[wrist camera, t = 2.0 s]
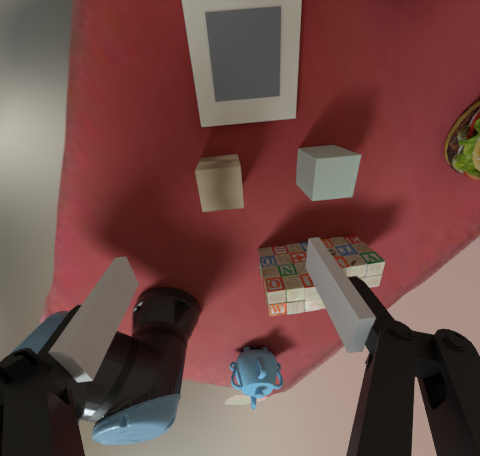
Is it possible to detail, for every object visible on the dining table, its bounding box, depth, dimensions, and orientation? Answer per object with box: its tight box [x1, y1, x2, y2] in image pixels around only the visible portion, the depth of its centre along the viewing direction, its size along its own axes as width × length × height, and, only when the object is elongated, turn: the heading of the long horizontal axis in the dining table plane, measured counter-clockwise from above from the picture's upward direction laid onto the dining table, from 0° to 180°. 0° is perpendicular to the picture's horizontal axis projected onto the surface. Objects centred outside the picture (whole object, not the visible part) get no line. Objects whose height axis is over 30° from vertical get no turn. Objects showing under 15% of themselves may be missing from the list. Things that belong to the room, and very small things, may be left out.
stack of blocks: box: [257, 235, 385, 316], centre depth 40 cm, size 21×6×12 cm, turn 98°
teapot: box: [230, 347, 283, 409], centre depth 60 cm, size 13×14×11 cm
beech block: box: [195, 154, 244, 212], centre depth 32 cm, size 6×6×8 cm
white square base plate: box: [182, 0, 302, 127], centre depth 28 cm, size 14×15×1 cm
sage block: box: [296, 145, 361, 201], centre depth 33 cm, size 6×6×8 cm
